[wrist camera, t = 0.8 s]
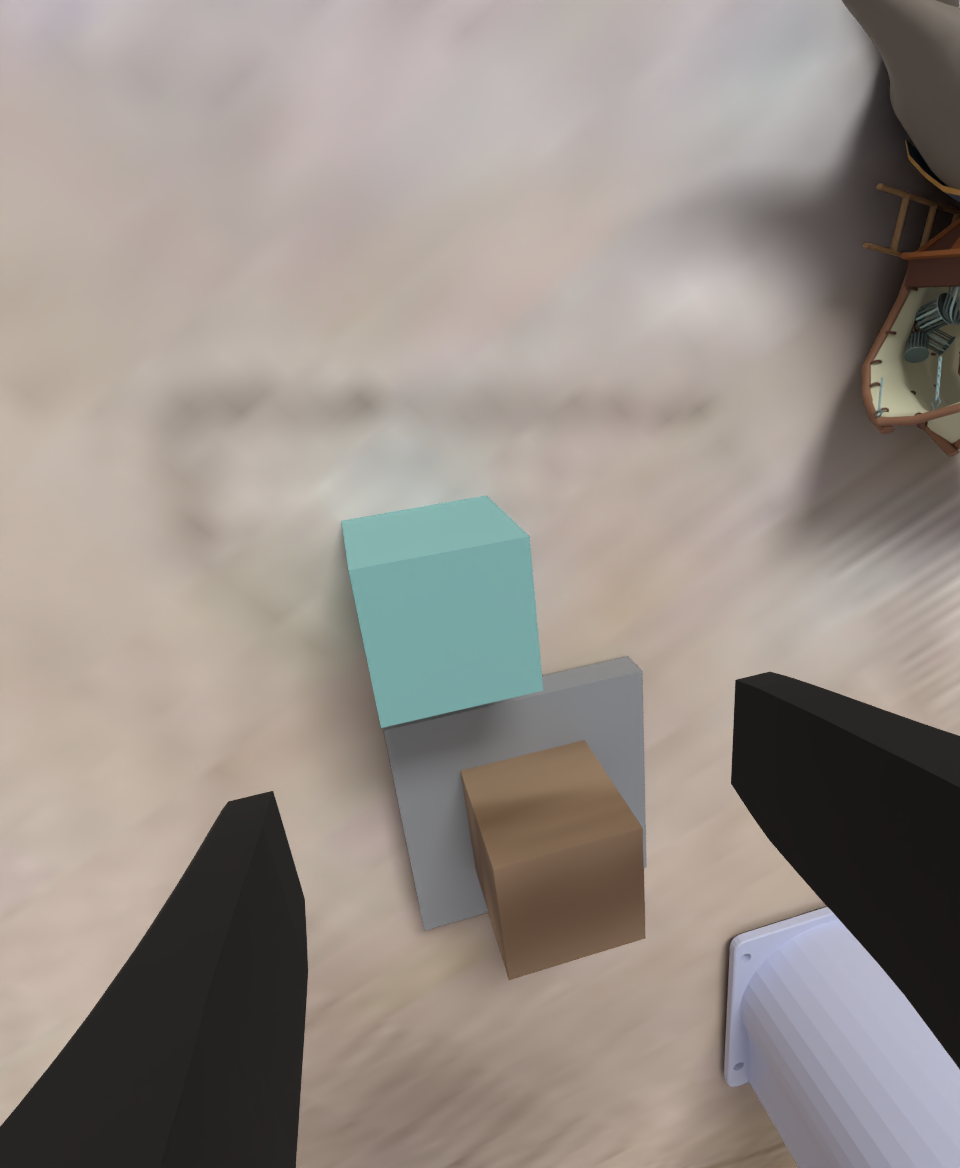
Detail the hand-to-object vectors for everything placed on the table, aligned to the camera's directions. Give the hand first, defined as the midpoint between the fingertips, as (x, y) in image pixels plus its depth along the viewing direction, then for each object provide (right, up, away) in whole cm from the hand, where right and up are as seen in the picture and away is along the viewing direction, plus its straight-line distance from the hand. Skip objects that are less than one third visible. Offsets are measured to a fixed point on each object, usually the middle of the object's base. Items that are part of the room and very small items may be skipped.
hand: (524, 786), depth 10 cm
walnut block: (+1, -4, +11) cm, 12 cm away
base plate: (+1, -4, +12) cm, 13 cm away
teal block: (-2, +3, +9) cm, 10 cm away
